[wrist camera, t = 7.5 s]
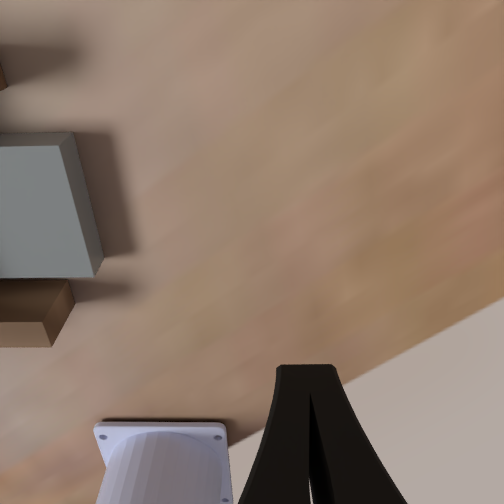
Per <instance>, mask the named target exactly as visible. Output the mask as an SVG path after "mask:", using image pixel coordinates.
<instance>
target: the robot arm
mask: <svg viewBox="0 0 504 504" xmlns="http://www.w3.org/2000/svg"><path fill="white" fill-rule="evenodd" d="M94 434H95V437H96V440H97V442H98V445H99V448H100V451H101V454H102V457H103V459H104V462H105V465H106V468H107V469H106V472H105V475H104V478H103V482H102V485H101V488H100V491H99V495H98V498H97V501H96V504H233V495H232V485H231V475H230V465H229V456H228V455H229V454H228V444H227V433H226V427H225V425H224V424H222V423H219V422H98V423H96V424H95V427H94ZM309 480H310V486H311V492H312V499H313V504H407V502H406V501H405V499H404V498H403V496H402V495H401V493H400V491H399V490H398V488H397V487H396V485H395V484H394V482H393V480H392V479H391V477H390V476H389V474H388V472H387V471H386V469H385V467H384V466H383V464H382V462H381V461H380V459H379V457H378V456H377V454H376V452H375V450H374V449H373V447H372V445H371V443H370V441H369V440H368V438H367V436H366V434H365V432H364V431H363V429H362V427H361V425H360V423H359V421H358V419H357V417H356V415H355V413H354V411H353V409H352V407H351V405H350V402H349V401H348V398H347V396H346V394H345V391H344V389H343V387H342V384H341V382H340V379H339V376H338V374H337V371H336V368H335V367H334V366H333V365H332V364H301V365H280V366H278V367H277V368H276V382H275V389H274V395H273V400H272V404H271V408H270V413H269V417H268V420H267V423H266V427H265V430H264V434H263V437H262V440H261V444H260V447H259V450H258V452H257V456H256V458H255V461H254V464H253V466H252V469H251V472H250V474H249V477H248V480H247V482H246V485H245V487H244V490H243V492H242V495H241V497H240V499H239V502H238V504H311V502H310V492H309V491H310V490H309Z"/></svg>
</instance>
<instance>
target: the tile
mask: <svg viewBox="0 0 504 504" xmlns="http://www.w3.org/2000/svg"><path fill="white" fill-rule="evenodd" d="M103 260H104V254H103V250H102V246H101V242H100V238H99V234H98V230H97V226H96V222H95V218H94V214H93V210H92V206H91V202H90V198H89V194H88V190H87V186H86V182H85V178H84V174H83V170H82V166H81V162H80V158H79V154H78V150H77V146H76V142H75V138H74V134H73V132H46V133H0V278H68V277H95V275H96V273H97V271H98V269H99V267H100V265H101V263H102V262H103Z"/></svg>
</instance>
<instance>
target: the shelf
mask: <svg viewBox="0 0 504 504" xmlns="http://www.w3.org/2000/svg"><path fill="white" fill-rule="evenodd" d="M5 88H7V84H6V81H5V78H4V75H3V71H2V68H1V65H0V91H1V90H3V89H5ZM74 305H75V302H74V299H73V296H72V292H71V289H70V286H69V283H68V280H0V347H52V346H53V344H54V342H55V340H56V338H57V337H58V335H59V333H60V331H61V329H62V327H63V325H64V324H65V322H66V320H67V318H68V316H69V314H70V312H71V311H72V309H73V307H74Z"/></svg>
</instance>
